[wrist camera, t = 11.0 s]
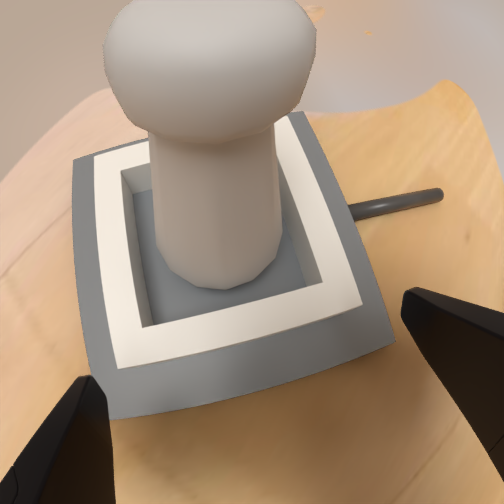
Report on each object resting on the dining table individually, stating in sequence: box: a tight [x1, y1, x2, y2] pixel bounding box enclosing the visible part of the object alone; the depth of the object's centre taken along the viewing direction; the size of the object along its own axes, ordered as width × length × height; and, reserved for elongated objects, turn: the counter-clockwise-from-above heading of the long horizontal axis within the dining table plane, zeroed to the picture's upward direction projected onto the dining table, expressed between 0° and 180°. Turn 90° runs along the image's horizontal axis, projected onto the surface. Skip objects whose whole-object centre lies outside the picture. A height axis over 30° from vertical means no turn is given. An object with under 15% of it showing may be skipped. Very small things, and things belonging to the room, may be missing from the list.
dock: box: [72, 111, 444, 420], centre depth 16 cm, size 24×16×4 cm, turn 106°
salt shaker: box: [103, 0, 316, 290], centre depth 10 cm, size 6×6×13 cm
